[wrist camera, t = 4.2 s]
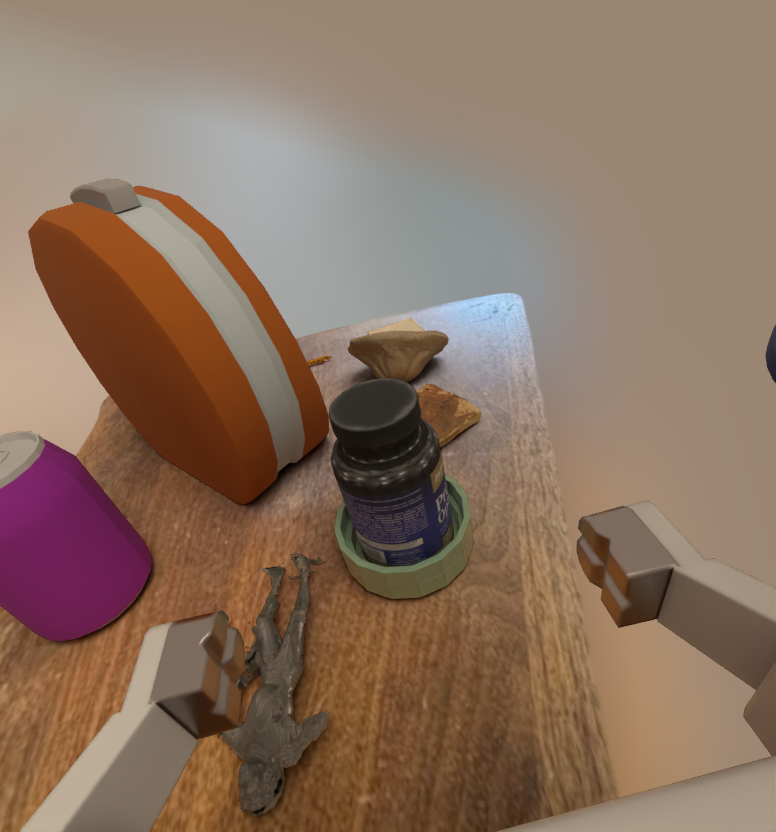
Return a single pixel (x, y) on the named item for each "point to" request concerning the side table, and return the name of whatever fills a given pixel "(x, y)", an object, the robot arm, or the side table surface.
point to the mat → (400, 327)
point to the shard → (446, 412)
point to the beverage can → (62, 543)
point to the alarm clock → (180, 334)
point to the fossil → (398, 352)
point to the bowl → (419, 575)
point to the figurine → (274, 700)
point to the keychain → (318, 360)
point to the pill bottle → (390, 473)
